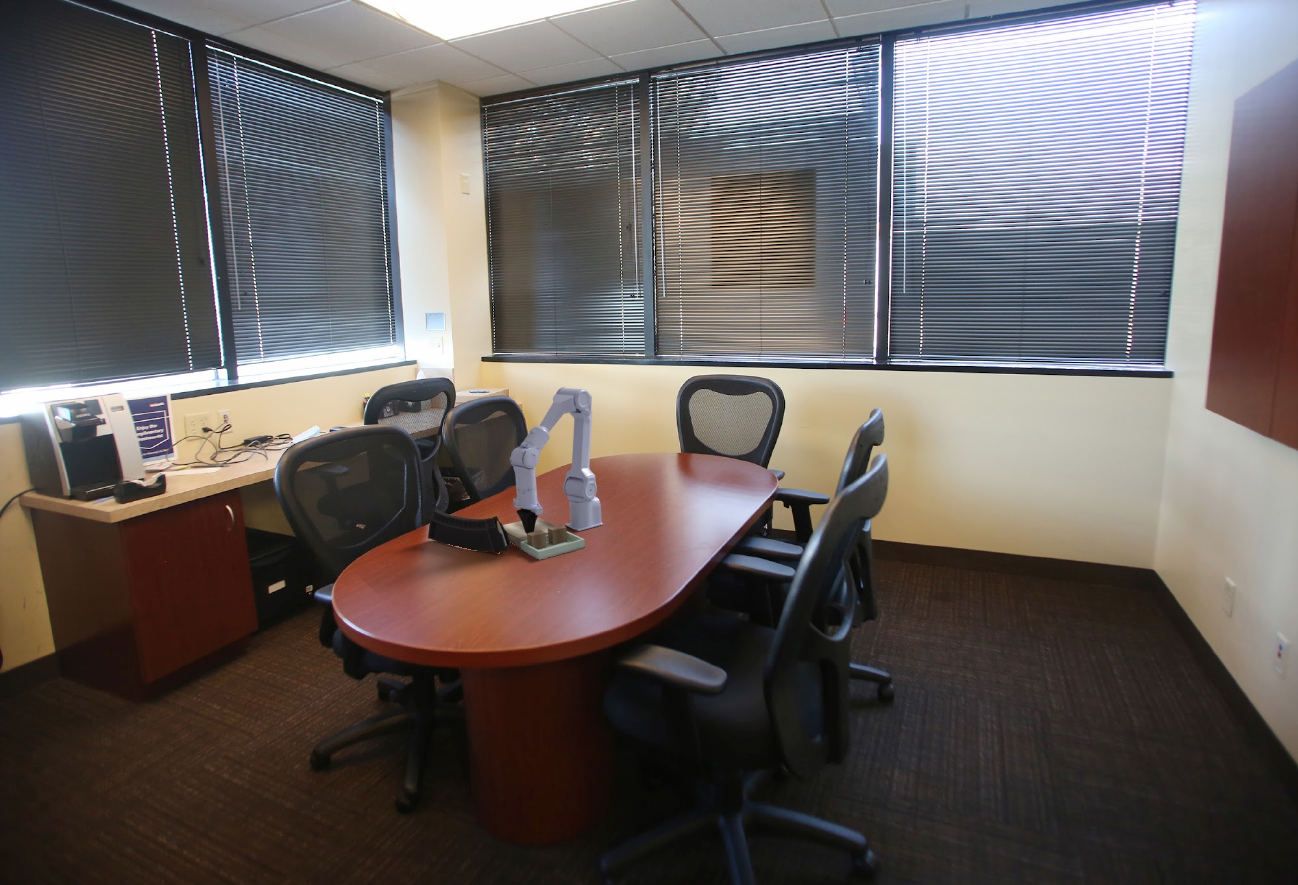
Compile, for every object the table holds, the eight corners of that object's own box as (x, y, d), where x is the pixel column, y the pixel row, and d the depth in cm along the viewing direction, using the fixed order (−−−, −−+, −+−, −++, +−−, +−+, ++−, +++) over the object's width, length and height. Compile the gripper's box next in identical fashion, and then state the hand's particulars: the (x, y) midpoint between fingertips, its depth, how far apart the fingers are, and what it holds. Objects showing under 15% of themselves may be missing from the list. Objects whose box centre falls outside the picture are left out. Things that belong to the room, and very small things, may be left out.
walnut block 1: (540, 530, 207) (545, 532, 205) (541, 544, 208) (546, 547, 206) (526, 533, 204) (531, 536, 202) (527, 548, 205) (532, 551, 203)
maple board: (537, 526, 227) (537, 517, 226) (563, 538, 214) (562, 528, 214) (497, 535, 219) (496, 526, 218) (521, 549, 206) (520, 539, 206)
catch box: (565, 538, 214) (565, 530, 214) (585, 547, 206) (584, 539, 205) (520, 550, 206) (520, 541, 205) (539, 560, 197) (538, 551, 196)
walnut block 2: (561, 524, 211) (566, 527, 209) (561, 539, 212) (567, 541, 210) (547, 528, 209) (552, 530, 206) (548, 542, 210) (553, 545, 207)
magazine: (419, 513, 215) (488, 495, 199) (427, 510, 217) (496, 493, 201) (436, 566, 216) (506, 554, 199) (444, 563, 218) (513, 550, 202)
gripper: (502, 486, 209) (506, 530, 212) (525, 495, 198) (529, 542, 200) (524, 481, 213) (527, 524, 216) (548, 491, 202) (551, 536, 204)
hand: (529, 532), depth 208 cm, fingers closed
